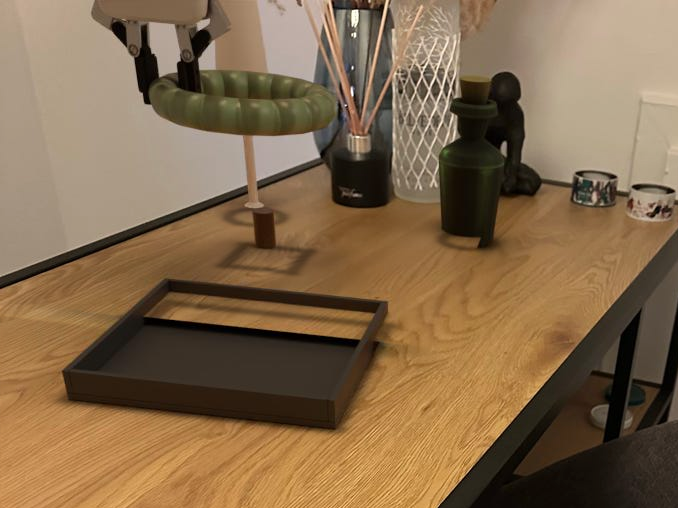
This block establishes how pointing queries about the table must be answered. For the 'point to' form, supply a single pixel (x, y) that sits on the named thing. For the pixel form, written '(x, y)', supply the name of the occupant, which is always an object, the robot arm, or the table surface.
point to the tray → (226, 361)
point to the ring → (245, 103)
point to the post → (264, 228)
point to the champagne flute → (243, 65)
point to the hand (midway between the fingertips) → (171, 102)
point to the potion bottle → (471, 166)
